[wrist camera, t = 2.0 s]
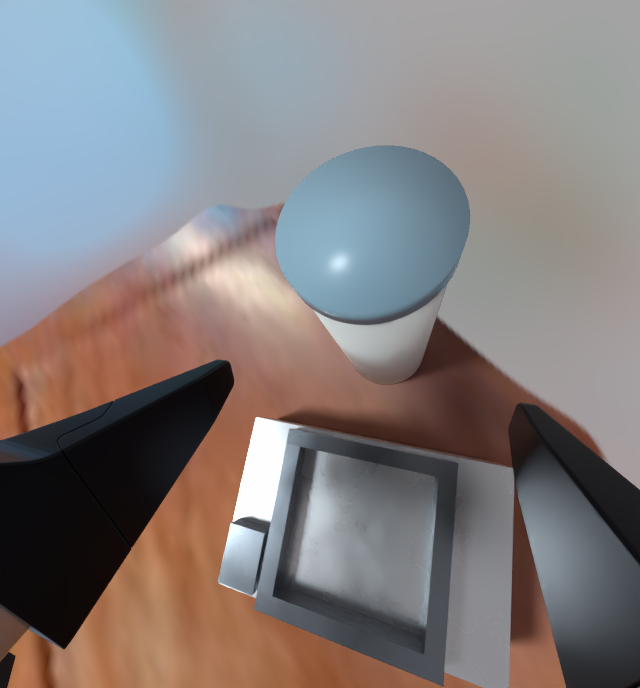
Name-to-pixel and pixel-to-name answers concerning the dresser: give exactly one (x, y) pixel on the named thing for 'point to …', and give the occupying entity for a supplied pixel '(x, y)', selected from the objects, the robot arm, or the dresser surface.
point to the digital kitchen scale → (378, 548)
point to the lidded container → (375, 252)
